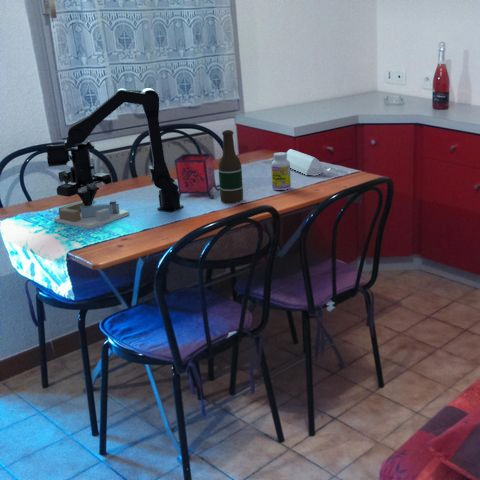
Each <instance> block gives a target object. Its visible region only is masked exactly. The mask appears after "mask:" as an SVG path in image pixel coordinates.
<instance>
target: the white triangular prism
mask: <svg viewBox="0 0 480 480" xmlns="http://www.w3.org/2000/svg"><path fill="white" fill-rule="evenodd" d="M286 153H287V160H288V161H289V162H290V168H292V169H294V170H296V171H295V172H297V171H299V172H301V173H300V174H302V173H303V174H302V175H304V174H305V176H307V175H313V174H319V173H322V172H323V173H324V166H323V165H322V163H321V161H320V160H319V159H317V158H316V157H314V156H311V155H309V154H306V153H303V152H300V151H298V150H294V149H292V148H290V149H288V150H287V151H286ZM292 169H291V170H292ZM294 170H293V171H294ZM299 172H298V173H299ZM323 173H322V174H323Z"/></svg>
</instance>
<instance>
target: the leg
mask: <svg viewBox="0 0 480 480" xmlns="http://www.w3.org/2000/svg"><path fill="white" fill-rule="evenodd" d="M119 205H120V204H119V202H118V201H116V200H111V201H110V202H105V203H98V204H92V205H90V206H83V207H80V208H81V215H82V218H84V217H91V216H96V213H95V212H96V211H99V210H102V209H109V212H110V214H112V213H119V209H120V206H119Z"/></svg>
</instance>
